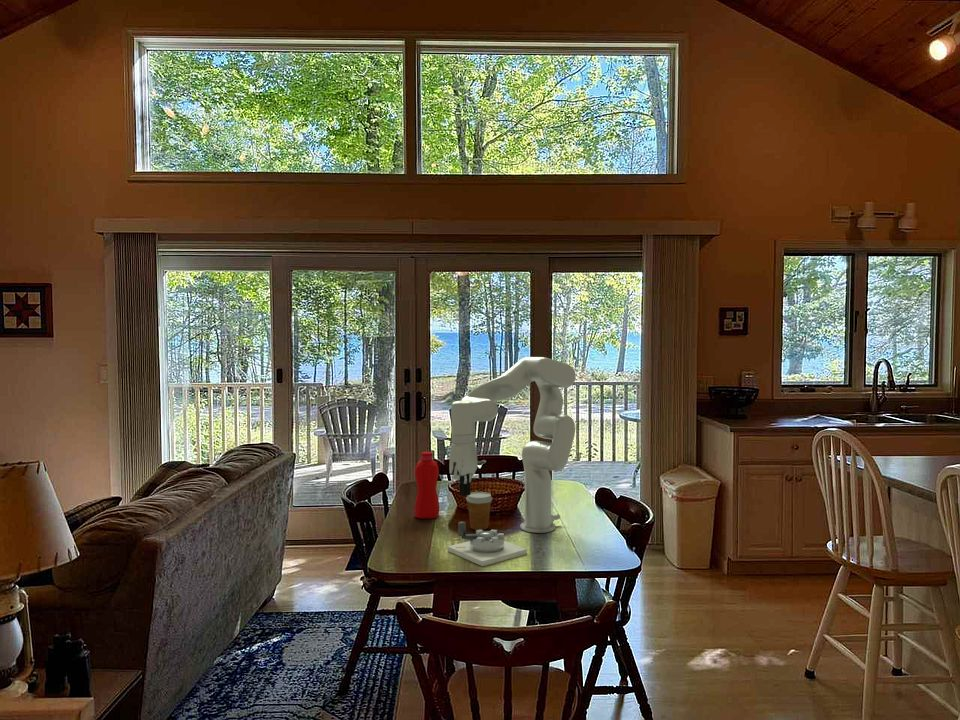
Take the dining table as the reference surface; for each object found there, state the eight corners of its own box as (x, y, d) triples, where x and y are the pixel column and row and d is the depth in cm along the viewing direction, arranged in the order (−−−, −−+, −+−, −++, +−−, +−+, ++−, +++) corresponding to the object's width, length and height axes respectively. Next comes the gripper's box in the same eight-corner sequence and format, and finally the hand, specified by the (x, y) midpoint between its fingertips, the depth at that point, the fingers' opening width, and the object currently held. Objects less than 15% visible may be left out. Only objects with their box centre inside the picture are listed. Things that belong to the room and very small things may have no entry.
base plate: (490, 540, 216) (490, 535, 216) (526, 553, 202) (526, 548, 202) (447, 550, 205) (447, 546, 205) (482, 566, 191) (482, 561, 191)
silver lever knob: (503, 541, 209) (503, 517, 209) (504, 552, 198) (504, 527, 198) (458, 541, 209) (458, 517, 209) (457, 552, 198) (457, 527, 198)
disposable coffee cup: (462, 525, 234) (462, 493, 233) (486, 522, 237) (486, 490, 237) (471, 532, 225) (471, 498, 224) (496, 529, 228) (496, 496, 228)
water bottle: (440, 512, 252) (440, 449, 251) (437, 519, 241) (437, 454, 240) (417, 511, 252) (417, 449, 252) (413, 519, 241) (413, 454, 241)
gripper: (467, 434, 214) (468, 488, 214) (440, 441, 201) (441, 498, 202) (486, 436, 209) (487, 491, 210) (459, 443, 197) (461, 501, 198)
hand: (465, 494), depth 206 cm, fingers closed
